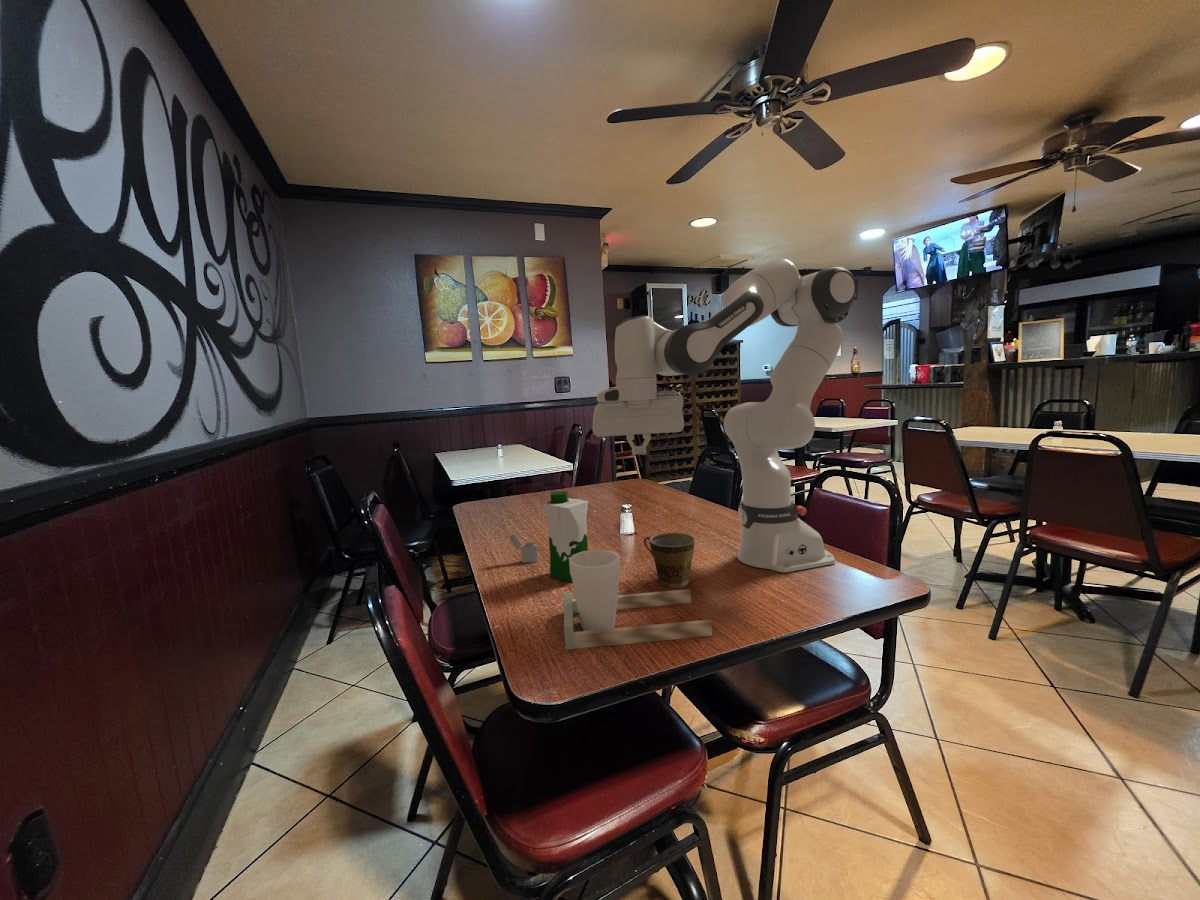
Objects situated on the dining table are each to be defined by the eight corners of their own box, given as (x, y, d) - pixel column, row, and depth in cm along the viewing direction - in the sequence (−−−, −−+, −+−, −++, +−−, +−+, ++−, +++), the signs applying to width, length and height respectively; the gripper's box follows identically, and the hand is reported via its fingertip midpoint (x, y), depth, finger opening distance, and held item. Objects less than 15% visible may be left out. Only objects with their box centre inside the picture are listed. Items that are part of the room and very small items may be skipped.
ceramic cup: (704, 580, 104) (703, 537, 102) (678, 595, 97) (677, 549, 95) (658, 567, 113) (657, 528, 112) (632, 580, 106) (630, 538, 105)
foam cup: (580, 642, 80) (575, 571, 79) (567, 619, 89) (563, 554, 87) (630, 631, 83) (627, 562, 81) (613, 609, 92) (610, 547, 90)
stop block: (572, 611, 92) (571, 592, 92) (574, 648, 78) (573, 626, 78) (565, 611, 92) (563, 592, 92) (565, 649, 78) (564, 627, 78)
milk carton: (568, 565, 117) (563, 488, 115) (596, 572, 112) (592, 491, 109) (544, 577, 110) (538, 496, 108) (573, 585, 105) (567, 499, 102)
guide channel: (689, 600, 94) (689, 589, 94) (711, 635, 80) (711, 622, 80) (572, 611, 92) (571, 599, 92) (574, 648, 78) (573, 634, 78)
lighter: (538, 559, 123) (536, 530, 122) (537, 561, 121) (535, 532, 120) (511, 561, 123) (509, 532, 122) (510, 564, 121) (508, 534, 120)
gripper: (679, 390, 105) (681, 450, 107) (590, 394, 104) (593, 455, 105) (686, 389, 99) (688, 453, 101) (592, 394, 97) (595, 459, 99)
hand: (639, 454), depth 103 cm, fingers closed
